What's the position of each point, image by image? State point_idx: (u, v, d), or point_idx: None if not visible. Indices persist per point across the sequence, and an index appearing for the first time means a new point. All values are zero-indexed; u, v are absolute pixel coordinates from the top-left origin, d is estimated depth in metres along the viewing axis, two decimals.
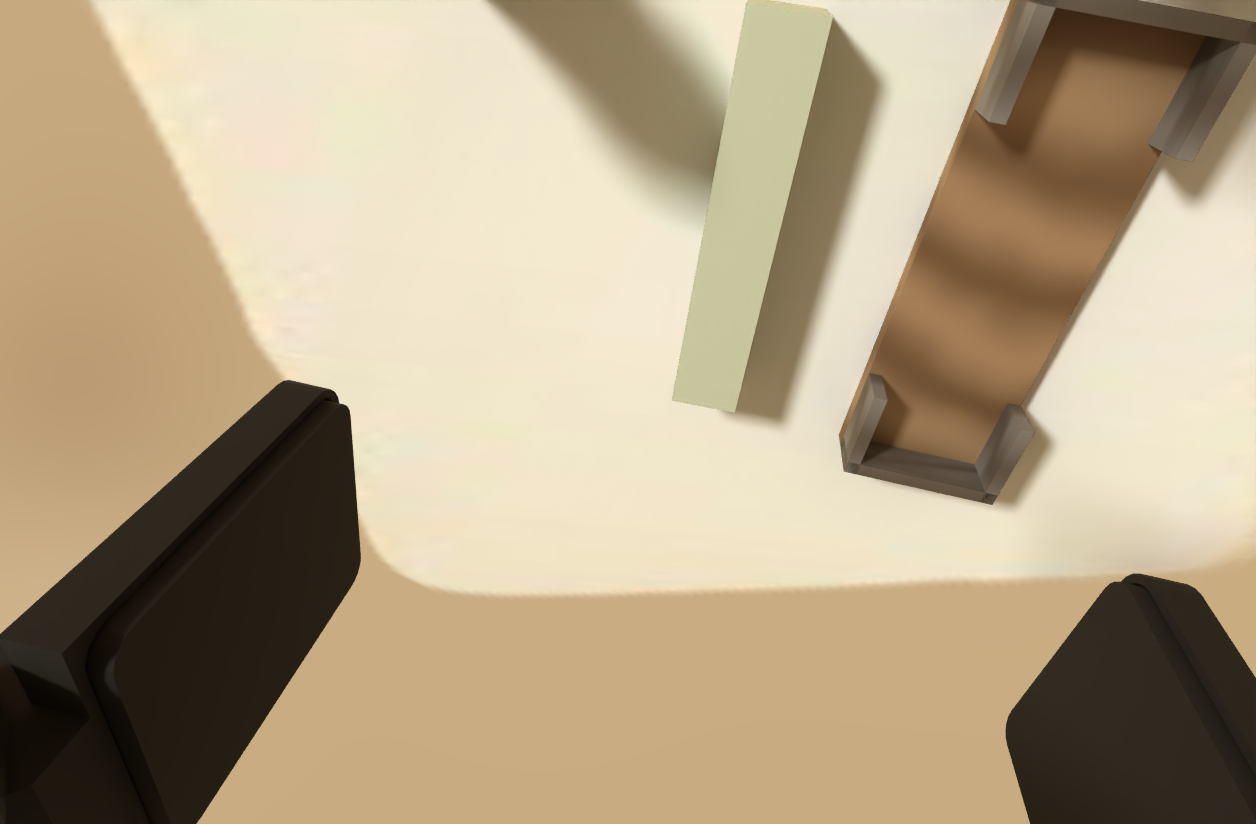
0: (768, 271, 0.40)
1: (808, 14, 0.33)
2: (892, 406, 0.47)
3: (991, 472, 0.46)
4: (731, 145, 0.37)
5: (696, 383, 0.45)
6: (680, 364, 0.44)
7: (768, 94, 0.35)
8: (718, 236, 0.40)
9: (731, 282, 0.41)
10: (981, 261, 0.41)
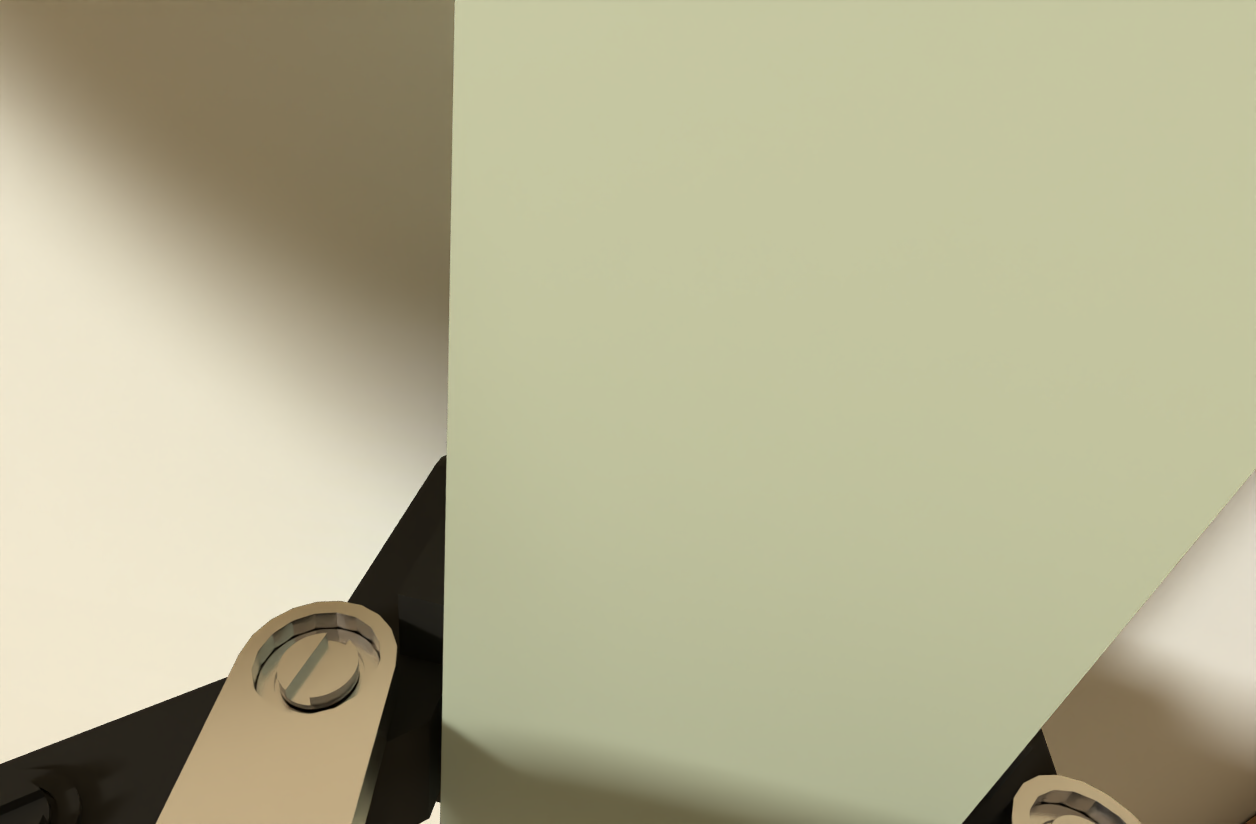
0: None
1: None
2: None
3: None
4: (559, 333, 0.04)
5: None
6: None
7: None
8: (533, 813, 0.06)
9: None
10: None
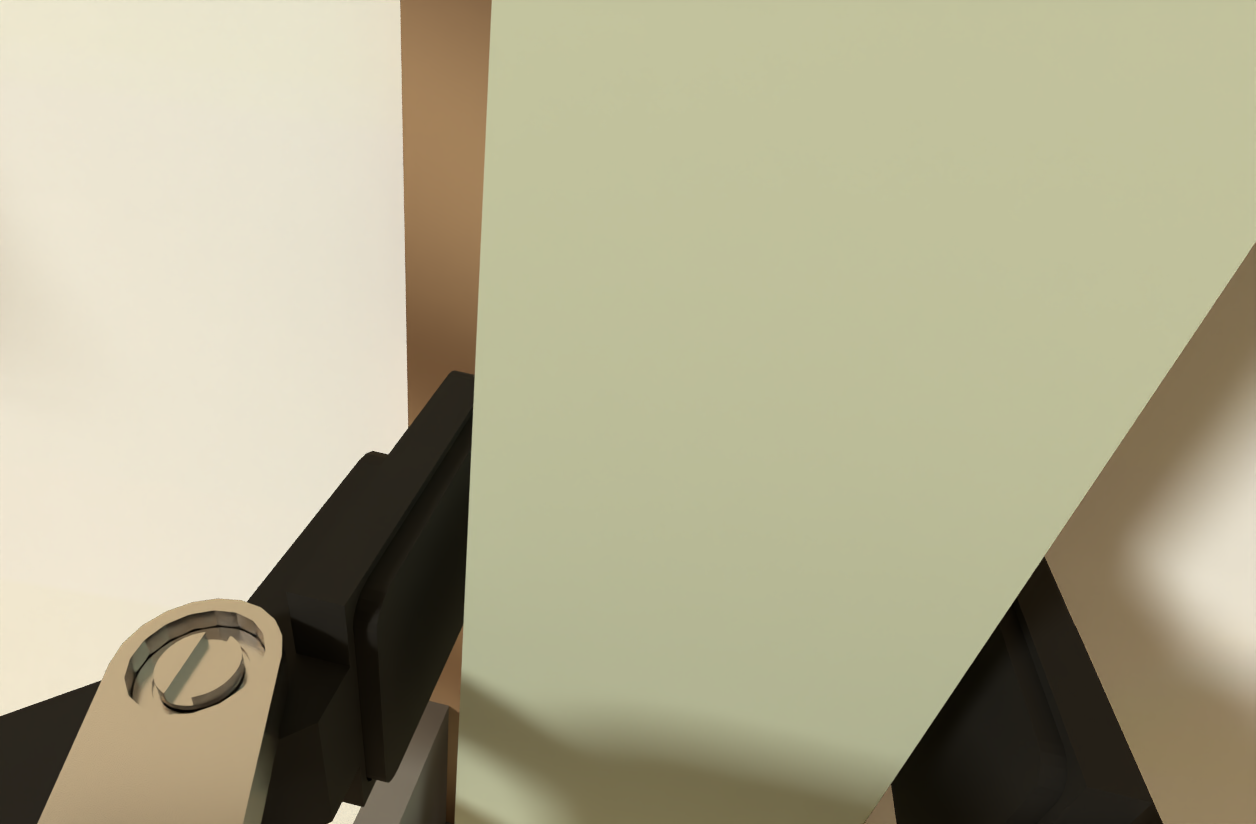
0: None
1: None
2: None
3: None
4: (574, 264, 0.04)
5: None
6: None
7: None
8: (543, 730, 0.07)
9: None
10: None
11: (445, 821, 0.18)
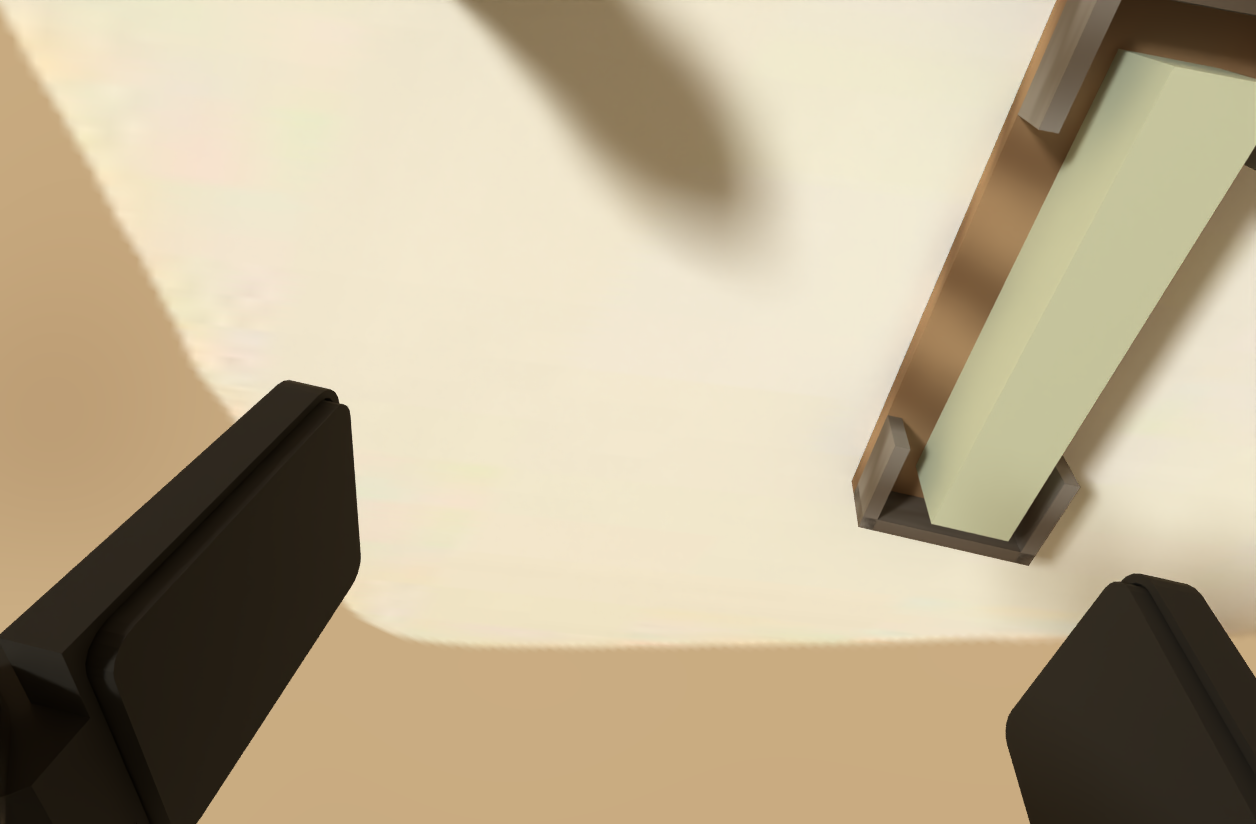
0: (1102, 387, 0.32)
1: None
2: (914, 452, 0.42)
3: (1027, 529, 0.40)
4: (1098, 239, 0.29)
5: (968, 506, 0.37)
6: (954, 485, 0.36)
7: (1169, 180, 0.28)
8: (1048, 344, 0.32)
9: (1049, 398, 0.33)
10: None
11: None
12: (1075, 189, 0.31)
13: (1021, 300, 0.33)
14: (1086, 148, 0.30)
